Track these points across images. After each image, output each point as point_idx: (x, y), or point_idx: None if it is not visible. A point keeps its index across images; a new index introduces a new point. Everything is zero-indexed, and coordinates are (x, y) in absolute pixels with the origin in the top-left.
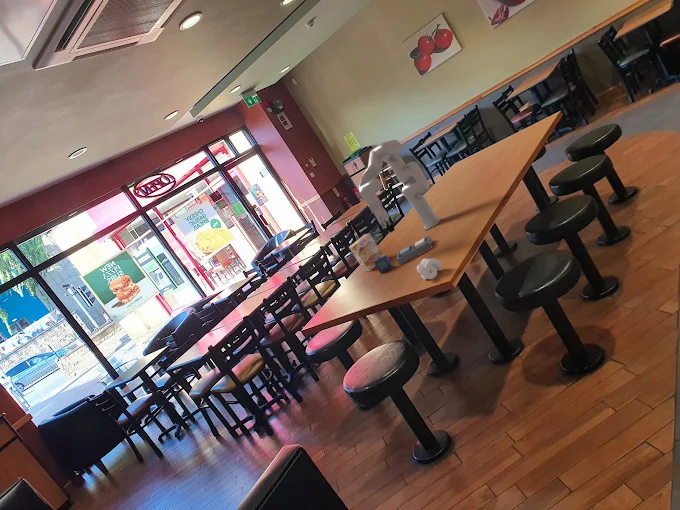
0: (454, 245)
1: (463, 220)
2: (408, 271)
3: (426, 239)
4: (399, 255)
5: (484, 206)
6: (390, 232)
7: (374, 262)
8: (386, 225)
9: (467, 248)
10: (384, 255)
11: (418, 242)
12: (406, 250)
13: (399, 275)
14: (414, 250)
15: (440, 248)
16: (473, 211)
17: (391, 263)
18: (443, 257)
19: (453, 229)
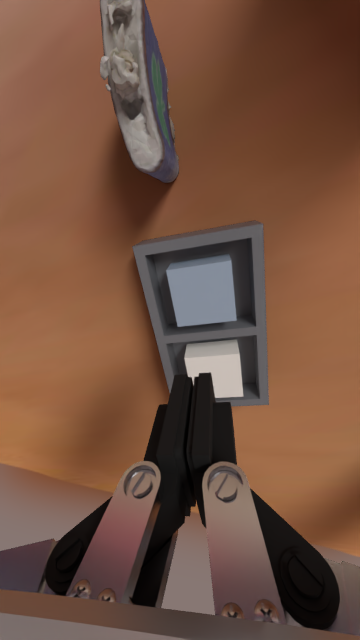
0: (108, 452)
1: (311, 475)
2: (31, 314)
3: (258, 385)
4: (204, 244)
5: (334, 521)
6: (177, 379)
7: (103, 4)
8: (93, 526)
9: (53, 475)
10: (137, 160)
11: (215, 373)
12: (177, 314)
13: (19, 271)
14: (158, 348)
15: (134, 417)
16: (351, 500)
17: (162, 180)
18: (49, 428)
19: (269, 449)
